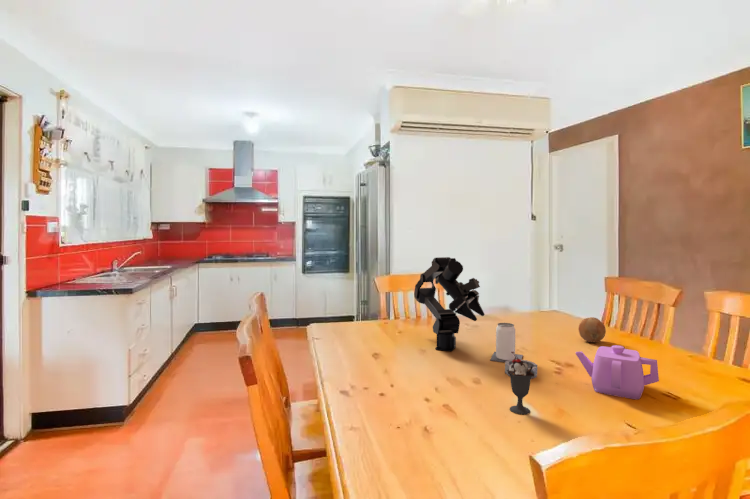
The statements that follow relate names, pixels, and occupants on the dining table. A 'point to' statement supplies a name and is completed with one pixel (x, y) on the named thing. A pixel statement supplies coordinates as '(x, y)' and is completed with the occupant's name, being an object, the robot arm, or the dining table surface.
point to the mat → (503, 360)
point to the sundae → (520, 383)
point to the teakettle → (619, 371)
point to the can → (505, 341)
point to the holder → (529, 363)
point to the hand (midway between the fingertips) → (480, 317)
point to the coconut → (592, 329)
